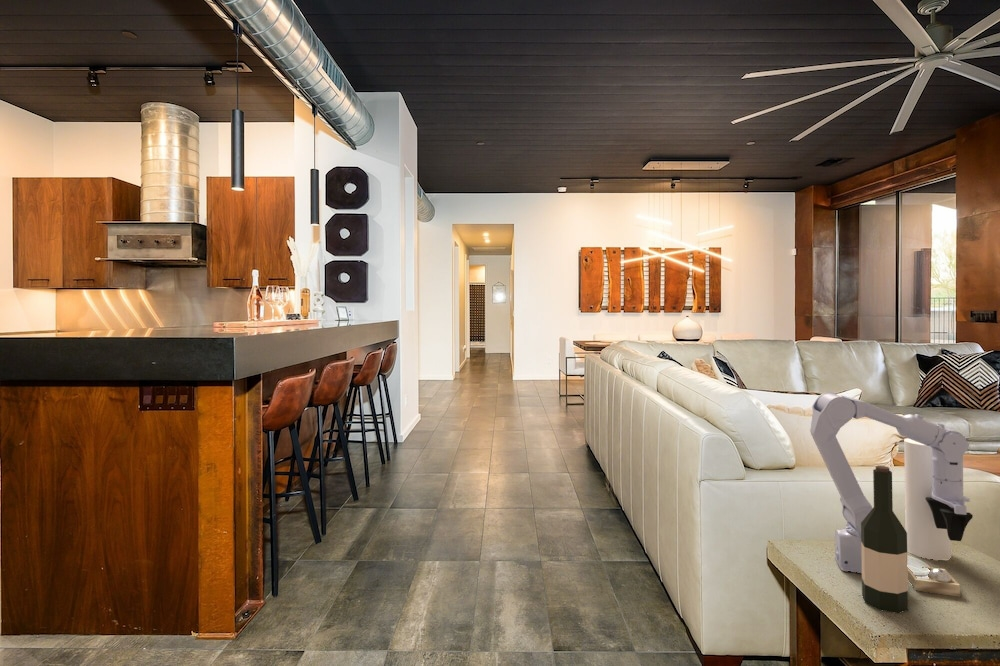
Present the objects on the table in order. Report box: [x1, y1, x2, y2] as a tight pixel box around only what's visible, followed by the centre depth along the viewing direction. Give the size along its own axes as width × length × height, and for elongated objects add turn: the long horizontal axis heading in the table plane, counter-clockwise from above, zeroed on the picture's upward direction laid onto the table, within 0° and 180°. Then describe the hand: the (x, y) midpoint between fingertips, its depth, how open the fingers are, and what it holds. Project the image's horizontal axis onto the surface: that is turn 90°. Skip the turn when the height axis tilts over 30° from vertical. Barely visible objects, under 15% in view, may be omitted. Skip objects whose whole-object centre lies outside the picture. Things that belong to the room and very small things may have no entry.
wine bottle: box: [861, 465, 909, 614], centre depth 117 cm, size 8×8×30 cm
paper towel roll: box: [903, 438, 952, 561], centre depth 140 cm, size 9×9×30 cm
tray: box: [907, 566, 961, 597], centre depth 124 cm, size 8×8×3 cm
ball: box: [928, 567, 951, 583], centre depth 122 cm, size 4×4×4 cm
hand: (948, 534), depth 128 cm, fingers open, 7 cm apart
